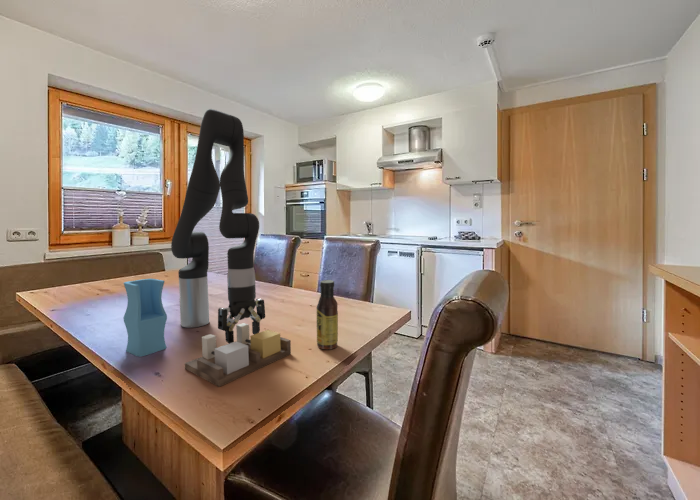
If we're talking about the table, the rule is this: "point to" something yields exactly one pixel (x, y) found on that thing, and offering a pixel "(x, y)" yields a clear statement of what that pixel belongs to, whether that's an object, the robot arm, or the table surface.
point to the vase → (145, 317)
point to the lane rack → (218, 378)
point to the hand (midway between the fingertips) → (243, 338)
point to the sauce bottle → (327, 317)
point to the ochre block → (259, 340)
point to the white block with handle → (225, 354)
